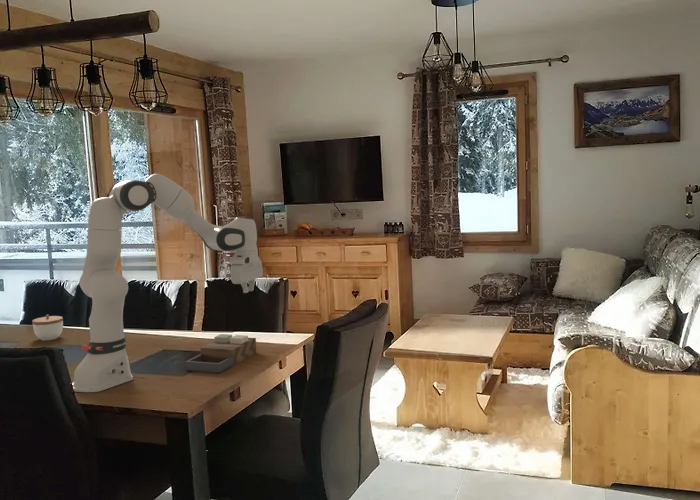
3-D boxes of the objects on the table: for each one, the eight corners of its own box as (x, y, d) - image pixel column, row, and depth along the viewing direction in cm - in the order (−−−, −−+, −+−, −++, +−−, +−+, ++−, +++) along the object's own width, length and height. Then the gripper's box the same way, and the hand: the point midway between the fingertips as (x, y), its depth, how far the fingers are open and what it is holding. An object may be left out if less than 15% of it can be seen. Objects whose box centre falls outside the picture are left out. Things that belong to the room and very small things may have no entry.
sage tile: (225, 342, 244) (225, 337, 244) (214, 342, 246) (214, 337, 245) (232, 339, 249) (232, 334, 249) (221, 339, 250) (220, 334, 250)
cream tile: (241, 343, 242) (241, 338, 242) (230, 343, 243) (230, 338, 243) (248, 340, 246) (247, 335, 246) (236, 339, 248) (236, 334, 248)
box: (219, 373, 225) (219, 363, 224) (186, 370, 229) (185, 361, 229) (233, 365, 234) (233, 356, 234) (201, 363, 239) (200, 354, 238)
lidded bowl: (44, 343, 278) (42, 318, 277) (27, 340, 285) (25, 316, 284) (70, 336, 289) (68, 313, 288) (53, 334, 295) (51, 311, 294)
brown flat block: (233, 365, 234) (233, 349, 233) (201, 363, 239) (200, 347, 238) (256, 352, 251) (255, 337, 250) (225, 350, 256) (224, 336, 255)
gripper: (252, 254, 261) (253, 287, 263) (226, 260, 242) (228, 296, 243) (265, 254, 259) (267, 287, 261) (241, 260, 240) (243, 296, 241)
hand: (248, 291), depth 252 cm, fingers open, 3 cm apart
